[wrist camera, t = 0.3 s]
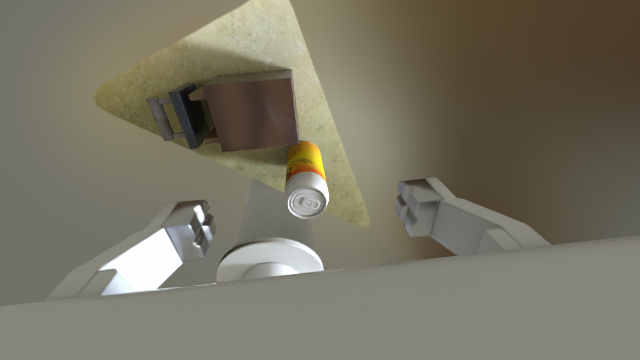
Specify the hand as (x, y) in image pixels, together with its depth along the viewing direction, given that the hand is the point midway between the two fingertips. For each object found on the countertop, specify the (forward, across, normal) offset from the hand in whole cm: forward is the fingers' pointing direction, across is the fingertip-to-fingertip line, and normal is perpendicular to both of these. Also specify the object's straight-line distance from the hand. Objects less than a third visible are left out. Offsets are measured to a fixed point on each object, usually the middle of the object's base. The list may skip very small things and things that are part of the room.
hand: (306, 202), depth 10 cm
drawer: (+32, -14, -3) cm, 35 cm away
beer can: (+33, 0, -13) cm, 35 cm away
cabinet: (+32, -6, -3) cm, 33 cm away
